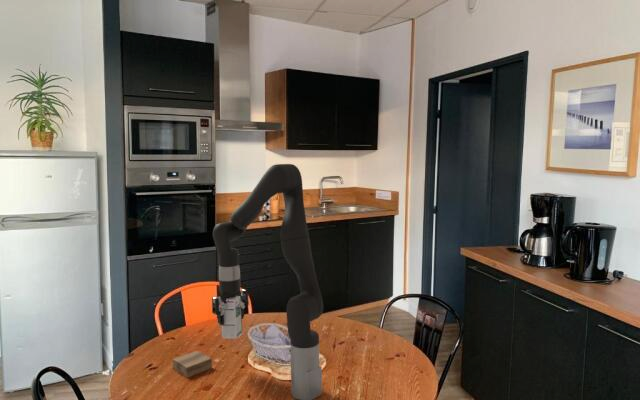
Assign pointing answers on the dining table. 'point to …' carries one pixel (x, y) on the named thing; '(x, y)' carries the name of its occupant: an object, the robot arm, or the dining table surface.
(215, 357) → the dining table surface
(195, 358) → the walnut base block
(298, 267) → the robot arm
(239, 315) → the syrup box
